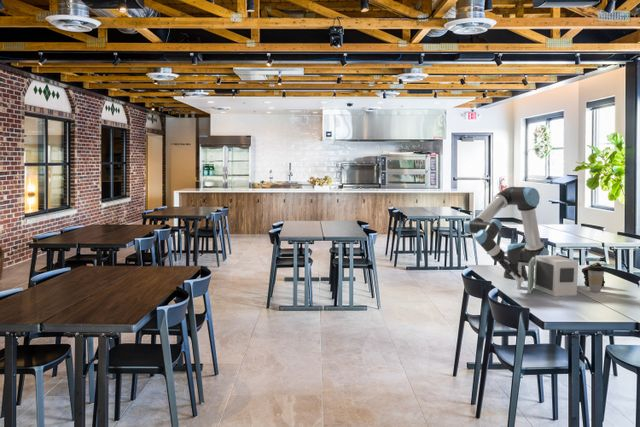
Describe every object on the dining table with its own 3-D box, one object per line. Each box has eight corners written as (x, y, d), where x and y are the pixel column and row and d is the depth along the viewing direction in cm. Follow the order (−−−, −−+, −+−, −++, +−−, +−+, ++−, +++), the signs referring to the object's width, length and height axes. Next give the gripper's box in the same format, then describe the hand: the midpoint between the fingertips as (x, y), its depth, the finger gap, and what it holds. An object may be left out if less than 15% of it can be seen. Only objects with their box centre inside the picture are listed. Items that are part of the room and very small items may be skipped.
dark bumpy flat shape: (610, 284, 345) (600, 263, 345) (589, 293, 347) (580, 271, 346) (607, 283, 349) (597, 262, 348) (587, 291, 350) (577, 270, 350)
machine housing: (533, 287, 342) (535, 255, 340) (555, 287, 344) (556, 255, 342) (554, 296, 319) (556, 261, 318) (577, 295, 321) (579, 261, 320)
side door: (521, 284, 345) (522, 256, 344) (533, 286, 342) (534, 257, 340) (516, 291, 325) (517, 261, 323) (529, 293, 322) (530, 262, 320)
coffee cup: (596, 293, 327) (598, 268, 326) (582, 290, 335) (583, 266, 334) (607, 292, 331) (608, 267, 330) (593, 289, 339) (594, 264, 338)
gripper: (484, 254, 334) (509, 281, 337) (498, 258, 316) (523, 287, 319) (493, 246, 334) (517, 273, 337) (507, 249, 316) (532, 278, 320)
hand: (520, 280), depth 328 cm, fingers open, 5 cm apart
